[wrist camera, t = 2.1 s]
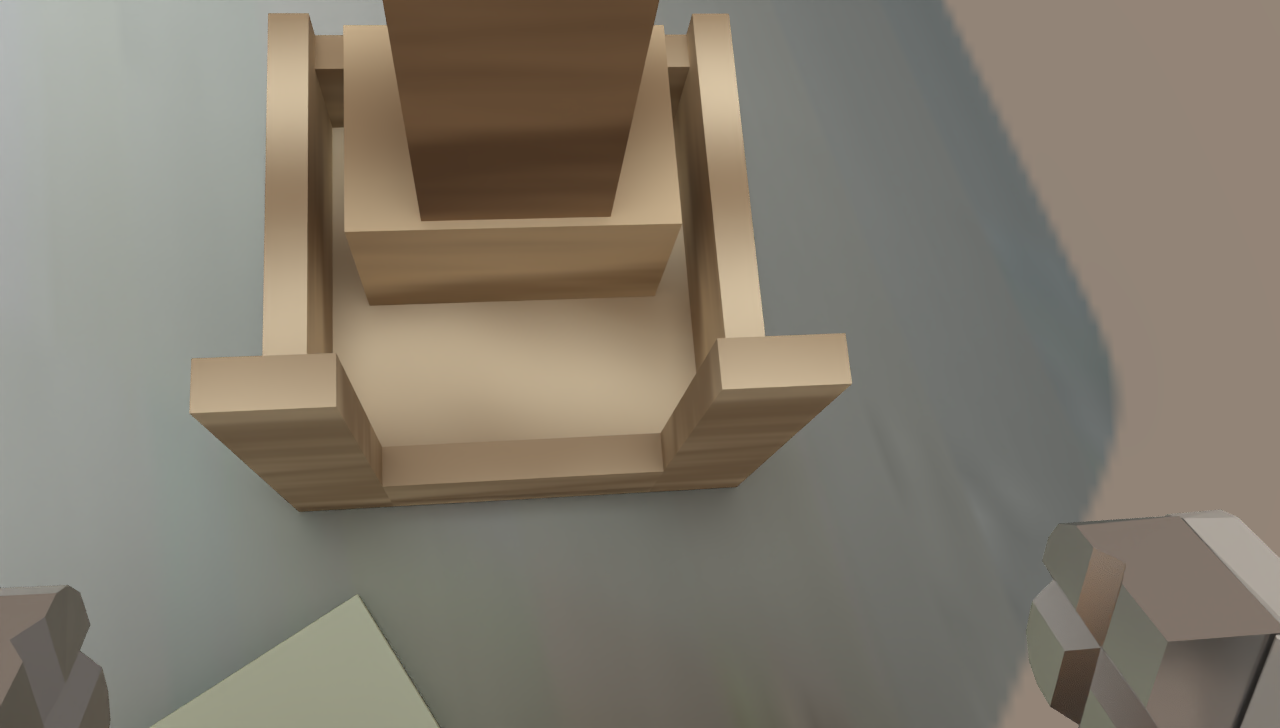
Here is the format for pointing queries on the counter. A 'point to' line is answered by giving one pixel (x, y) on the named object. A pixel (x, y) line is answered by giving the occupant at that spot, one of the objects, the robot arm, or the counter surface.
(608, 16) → the block
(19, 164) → the counter surface
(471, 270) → the tan piece
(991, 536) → the counter surface
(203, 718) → the pad
